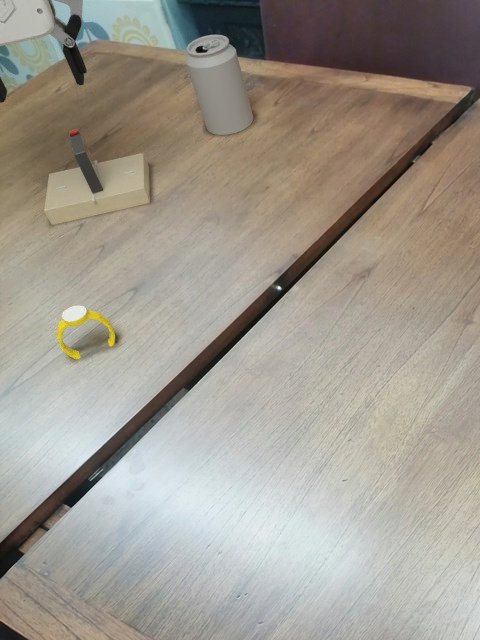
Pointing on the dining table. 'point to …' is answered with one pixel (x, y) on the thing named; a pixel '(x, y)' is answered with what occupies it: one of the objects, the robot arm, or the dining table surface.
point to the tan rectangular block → (118, 192)
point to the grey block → (85, 160)
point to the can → (219, 85)
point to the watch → (77, 317)
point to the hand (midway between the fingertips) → (42, 89)
